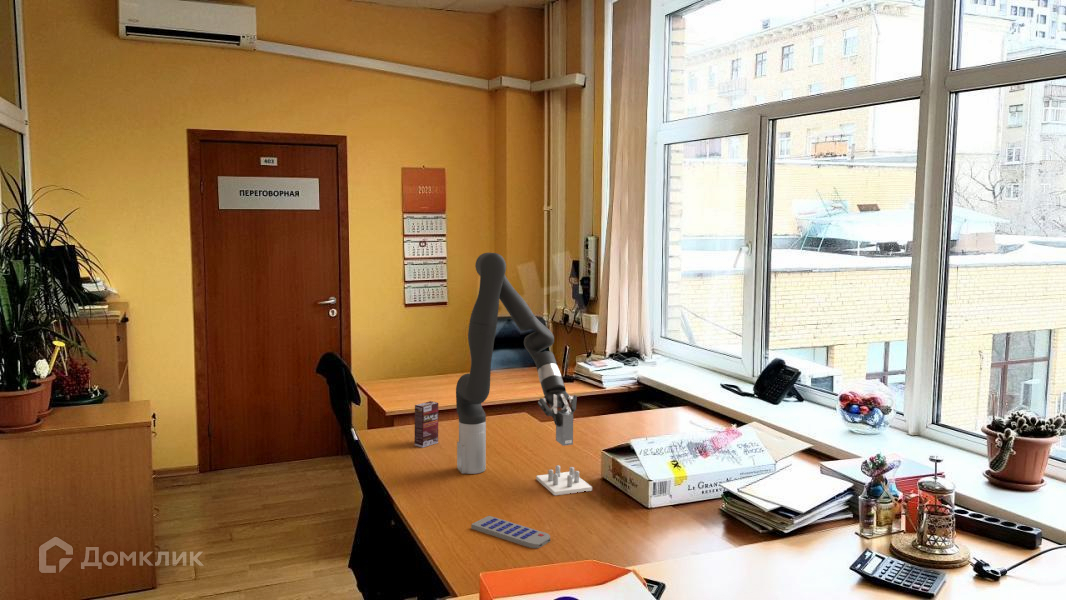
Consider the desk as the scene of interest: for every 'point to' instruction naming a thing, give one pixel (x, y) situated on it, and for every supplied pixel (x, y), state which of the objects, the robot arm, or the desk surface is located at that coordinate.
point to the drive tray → (563, 482)
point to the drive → (565, 428)
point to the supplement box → (426, 424)
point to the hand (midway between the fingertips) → (565, 424)
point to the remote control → (511, 532)
